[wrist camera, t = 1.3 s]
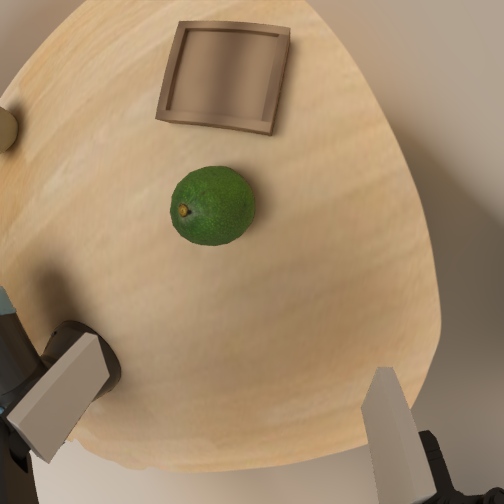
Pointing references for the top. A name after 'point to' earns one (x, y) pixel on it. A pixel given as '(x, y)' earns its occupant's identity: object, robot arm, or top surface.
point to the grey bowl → (7, 130)
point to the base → (224, 75)
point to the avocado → (212, 206)
